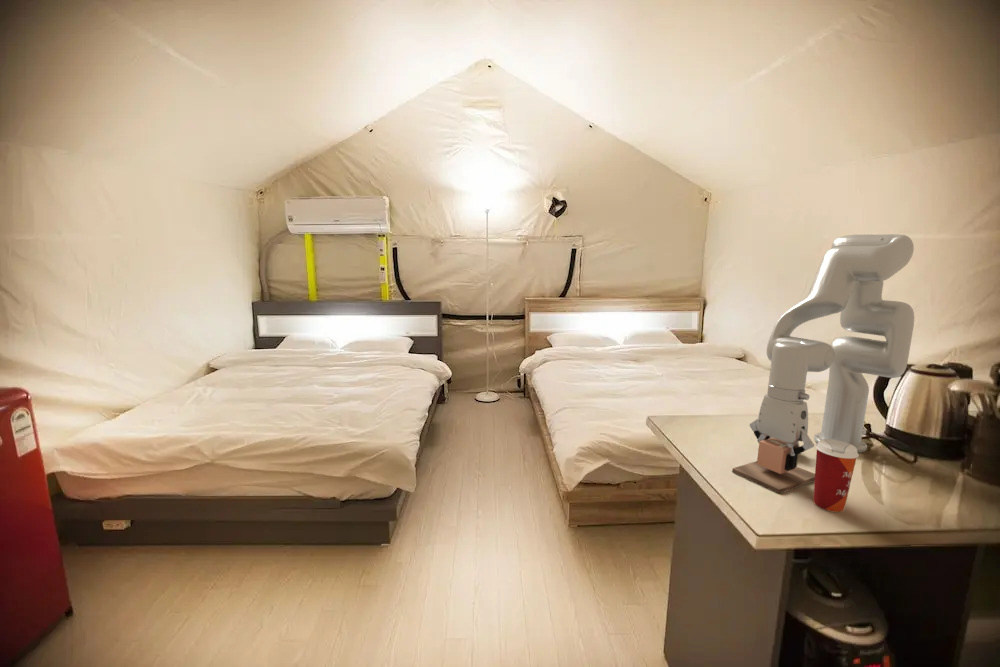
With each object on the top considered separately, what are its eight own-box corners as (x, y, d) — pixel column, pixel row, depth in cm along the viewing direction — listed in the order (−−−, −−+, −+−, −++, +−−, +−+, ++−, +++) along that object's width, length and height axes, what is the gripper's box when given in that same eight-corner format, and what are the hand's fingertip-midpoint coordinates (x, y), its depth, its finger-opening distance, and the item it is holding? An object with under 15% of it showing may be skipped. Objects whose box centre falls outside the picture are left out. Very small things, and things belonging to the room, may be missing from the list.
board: (771, 460, 127) (771, 456, 127) (818, 479, 117) (819, 475, 117) (732, 472, 120) (732, 468, 120) (778, 493, 109) (779, 489, 109)
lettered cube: (771, 459, 122) (774, 436, 121) (795, 469, 117) (798, 445, 116) (756, 463, 119) (759, 440, 118) (780, 473, 114) (783, 449, 113)
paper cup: (851, 518, 100) (861, 455, 97) (807, 507, 104) (816, 446, 101) (848, 502, 106) (857, 442, 104) (807, 492, 110) (815, 435, 108)
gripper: (832, 401, 109) (821, 475, 112) (761, 382, 124) (753, 448, 127) (813, 405, 106) (803, 482, 109) (742, 385, 120) (735, 453, 124)
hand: (776, 463), depth 118 cm, fingers closed on lettered cube, 6 cm apart
